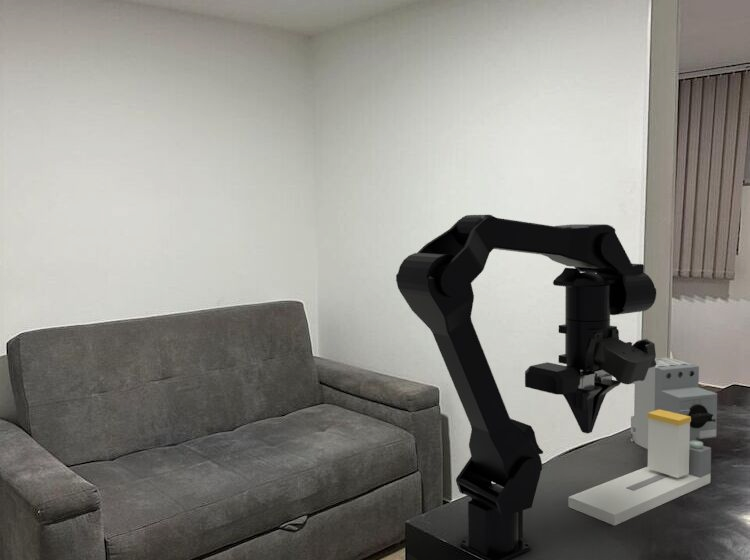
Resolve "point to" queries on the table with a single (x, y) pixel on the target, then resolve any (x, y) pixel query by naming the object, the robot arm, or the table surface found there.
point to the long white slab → (643, 489)
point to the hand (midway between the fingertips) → (586, 432)
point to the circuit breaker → (674, 399)
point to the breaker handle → (668, 442)
